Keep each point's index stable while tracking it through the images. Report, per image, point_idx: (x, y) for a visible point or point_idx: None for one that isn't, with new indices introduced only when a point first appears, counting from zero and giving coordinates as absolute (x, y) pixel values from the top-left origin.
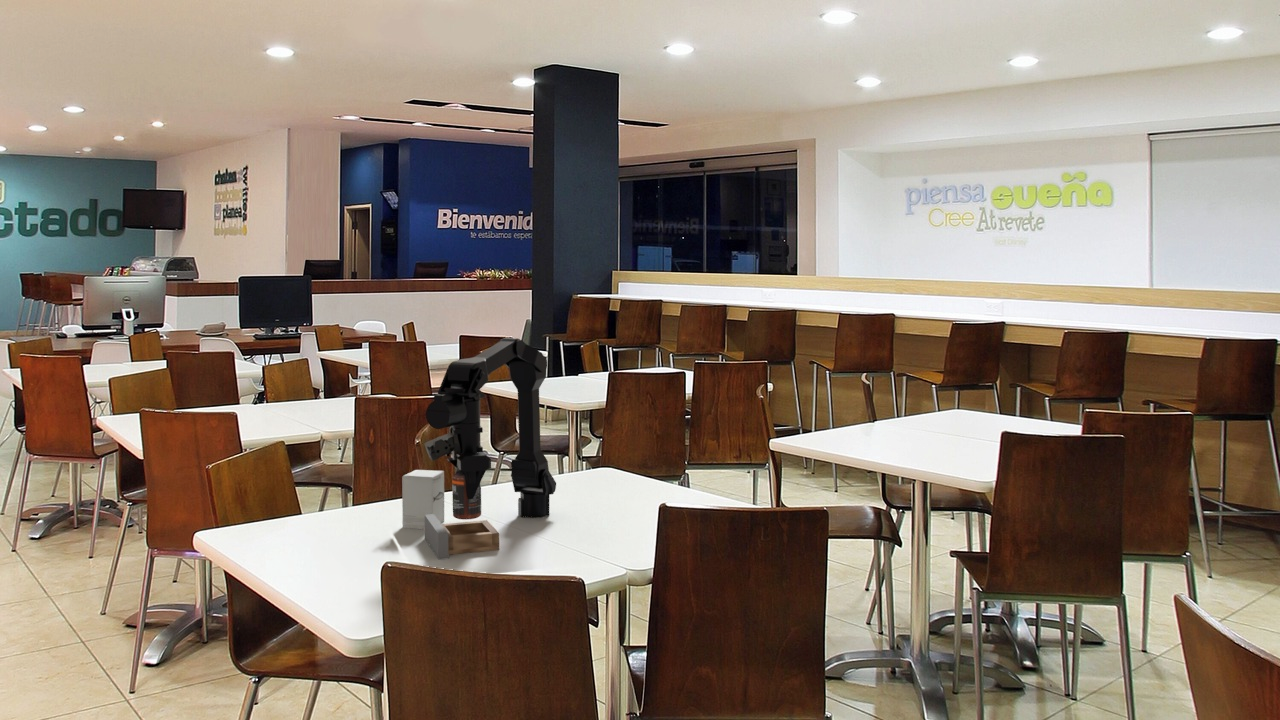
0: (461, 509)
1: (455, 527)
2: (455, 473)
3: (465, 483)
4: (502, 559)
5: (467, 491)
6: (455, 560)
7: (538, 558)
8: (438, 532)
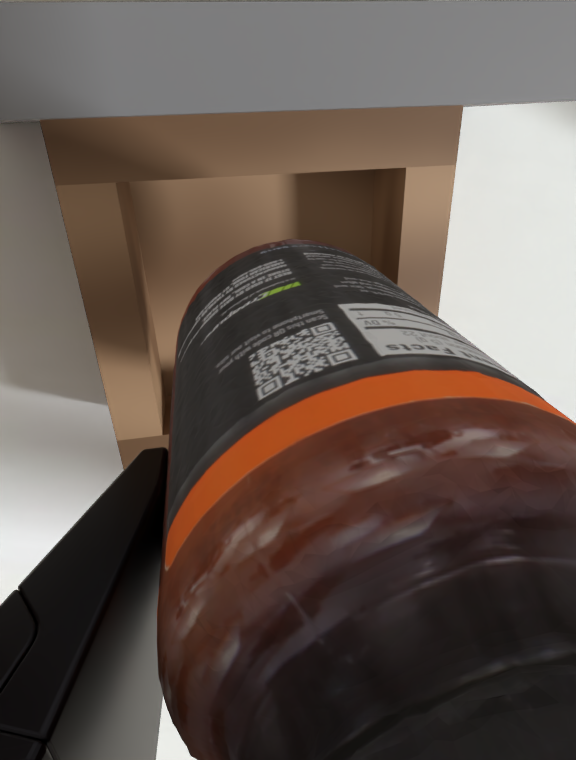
0: (186, 328)
1: (392, 245)
2: (573, 539)
3: (7, 607)
4: (28, 415)
5: (91, 512)
6: (31, 175)
7: (30, 545)
8: None
